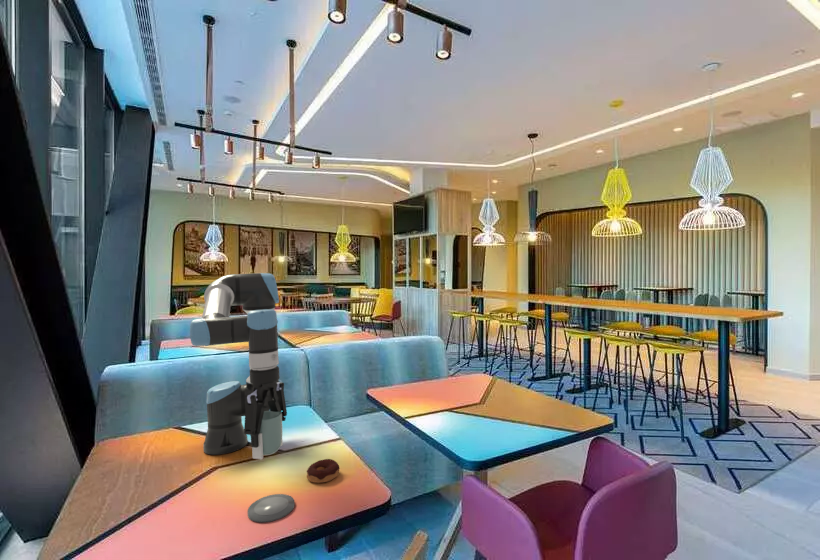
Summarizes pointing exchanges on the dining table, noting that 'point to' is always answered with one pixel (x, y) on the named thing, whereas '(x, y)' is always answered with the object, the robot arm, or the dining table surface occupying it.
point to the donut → (323, 471)
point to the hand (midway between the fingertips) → (268, 451)
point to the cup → (271, 432)
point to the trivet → (271, 508)
